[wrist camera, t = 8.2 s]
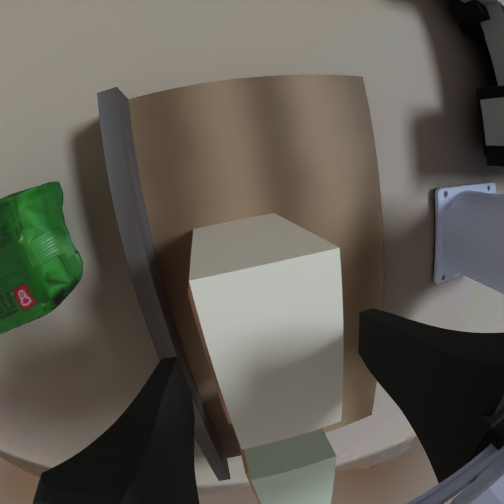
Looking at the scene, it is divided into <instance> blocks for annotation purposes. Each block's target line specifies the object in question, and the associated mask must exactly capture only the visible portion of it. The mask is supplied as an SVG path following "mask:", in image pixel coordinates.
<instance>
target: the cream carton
mask: <svg viewBox="0 0 504 504" xmlns="http://www.w3.org/2000/svg"><path fill="white" fill-rule="evenodd" d="M188 296H189V300H190V304H191V307H192V311H193V314H194V318H195V321H196V325H197V328H198V332H199V335H200V339H201V342H202V345H203V348H204V352H205V355H206V358H207V361H208V364H209V368H210V371H211V374H212V377H213V380H214V383H215V386H216V389H217V392H218V395H219V398H220V401H221V403H222V406H223V409H224V412H225V415H226V417H227V420H228V423H229V424H232V425H233V428H234V430H235V433H236V436H237V439H238V441H239V444H240V447H241V449H247V448H251V447H256V446H260V445H265V444H269V443H273V442H277V441H280V440H284V439H288V438H291V437H295V436H298V435H301V434H305V433H308V432H311V431H314V430H317V429H320V428H323V427H326V426H329V425H332V424H335V423H337V422H340V421H341V418H342V398H343V356H344V341H343V298H342V277H341V261H340V248H339V247H337V246H335V245H334V244H332V243H330V242H328V241H326V240H324V239H323V238H321V237H319V236H317V235H315V234H313V233H311V232H309V231H307V230H306V229H304V228H302V227H300V226H298V225H296V224H294V223H292V222H290V221H288V220H286V219H284V218H282V217H281V216H279V215H277V214H275V213H272V214H266V215H261V216H256V217H251V218H245V219H240V220H235V221H230V222H225V223H220V224H216V225H211V226H206V227H201V228H196V229H193V238H192V249H191V261H190V273H189V287H188Z"/></svg>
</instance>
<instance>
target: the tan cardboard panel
mask: <svg viewBox="0 0 504 504" xmlns="http://www.w3.org/2000/svg"><path fill="white" fill-rule="evenodd" d="M97 96H98V107H99V118H100V127H101V135H102V142H103V149H104V156H105V163H106V169H107V174H108V180H109V186H110V191H111V196H112V201H113V206H114V210H115V215H116V219H117V224H118V228H119V232H120V236H121V240H122V244H123V248H124V252H125V256H126V259H127V263H128V267H129V270H130V274H131V277H132V280H133V284H134V287H135V290H136V294H137V297H138V300H139V303H140V306H141V309H142V312H143V315H144V318H145V321H146V324H147V327H148V329H149V332H150V335H151V338H152V340H153V343H154V346H155V348H156V351H157V354H158V356H159V359H160V361H161V360H162V359H164V358H170V357H176V356H177V357H178V359H179V362H180V365H181V368H182V370H183V373H184V376H185V378H186V381H187V383H188V386H189V388H190V391H191V393H192V398H193V407H194V416H195V426H194V436H195V438H196V440H197V442H198V444H199V446H200V448H201V450H202V452H203V454H204V455H205V457H206V459H207V461H208V463H209V464H210V466H211V468H212V470H213V471H214V473H215V475H216V477H217V478H218V480H219V481H221V480H227V479H230V473H229V468H228V462H227V458H229V457H234V456H240V455H241V450H240V445H239V441H238V439H237V436H236V433H235V430H234V428H233V425H232V424H229V423H228V420H227V417H226V415H225V412H224V409H223V406H222V403H221V401H220V398H219V395H218V392H217V389H216V386H215V383H214V380H213V377H212V374H211V371H210V368H209V364H208V361H207V358H206V355H205V352H204V348H203V345H202V342H201V339H200V335H199V332H198V328H197V325H196V321H195V318H194V314H193V311H192V307H191V304H190V300H189V296H188V287H189V273H190V261H191V249H192V238H193V229H196V228H201V227H206V226H211V225H216V224H220V223H225V222H230V221H235V220H240V219H245V218H251V217H256V216H261V215H266V214H272V213H275V214H277V215H279V216H281V217H282V218H284V219H286V220H288V221H290V222H292V223H294V224H296V225H298V226H300V227H302V228H304V229H306V230H307V231H309V232H311V233H313V234H315V235H317V236H319V237H321V238H323V239H324V240H326V241H328V242H330V243H332V244H334V245H335V246H337V247H339V248H340V261H341V277H342V298H343V341H344V356H343V398H342V418H341V421H340V422H337V423H335V424H332V425H329V426H326V427H323V428H322V429H323V431H324V433H326V432H329V431H331V430H334V429H337V428H340V427H342V426H345V425H348V424H350V423H353V422H355V421H358V420H360V419H363V418H365V417H367V416H370V415H372V409H373V403H374V396H375V389H376V382H377V380H376V379H375V377H374V376H373V375H372V374H371V373H370V371H369V370H368V368H367V367H366V365H365V363H364V362H363V360H362V358H361V357H360V355H359V353H358V345H359V312H362V311H365V310H368V309H371V308H373V309H377V310H381V311H383V286H384V253H383V224H382V207H381V194H380V183H379V173H378V164H377V156H376V149H375V142H374V135H373V129H372V123H371V117H370V111H369V106H368V101H367V96H366V91H365V86H364V82H363V77H359V76H341V75H283V76H265V77H252V78H241V79H232V80H224V81H216V82H209V83H203V84H197V85H191V86H185V87H180V88H175V89H170V90H165V91H161V92H156V93H152V94H148V95H144V96H140V97H136V98H132V99H129V100H128V99H127V97H126V96H125V95H124V94H123V93H122V92H121V91H120V90H119V89H118V88H117V87H115V88H112V89H108V90H105V91H102V92H99V93H97Z"/></svg>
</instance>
